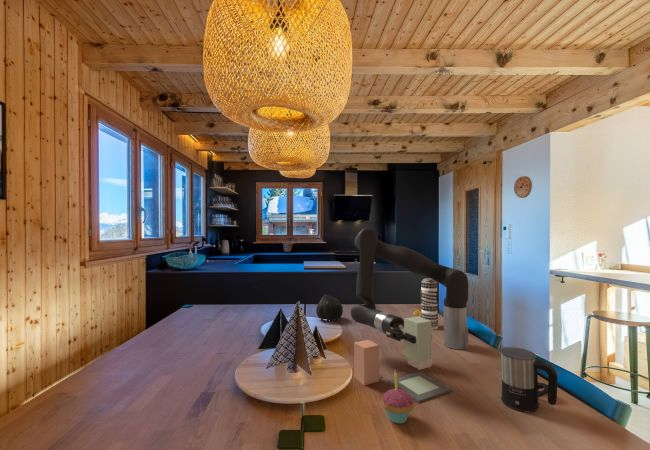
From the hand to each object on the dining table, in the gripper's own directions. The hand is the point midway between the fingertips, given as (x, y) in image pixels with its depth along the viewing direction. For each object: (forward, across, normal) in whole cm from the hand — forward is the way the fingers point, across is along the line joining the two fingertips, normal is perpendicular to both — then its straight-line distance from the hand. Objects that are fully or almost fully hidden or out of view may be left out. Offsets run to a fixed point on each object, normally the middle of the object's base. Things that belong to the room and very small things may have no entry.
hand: (423, 338), depth 98 cm
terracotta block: (-14, -12, +16) cm, 25 cm away
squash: (-83, +10, +17) cm, 85 cm away
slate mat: (-2, 0, +16) cm, 16 cm away
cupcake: (+8, -17, +16) cm, 25 cm away
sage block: (-2, 0, +7) cm, 7 cm away
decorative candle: (-46, +51, +16) cm, 71 cm away
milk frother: (+18, +23, +16) cm, 33 cm away
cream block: (-14, +12, +16) cm, 25 cm away
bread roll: (-63, +61, +16) cm, 89 cm away
